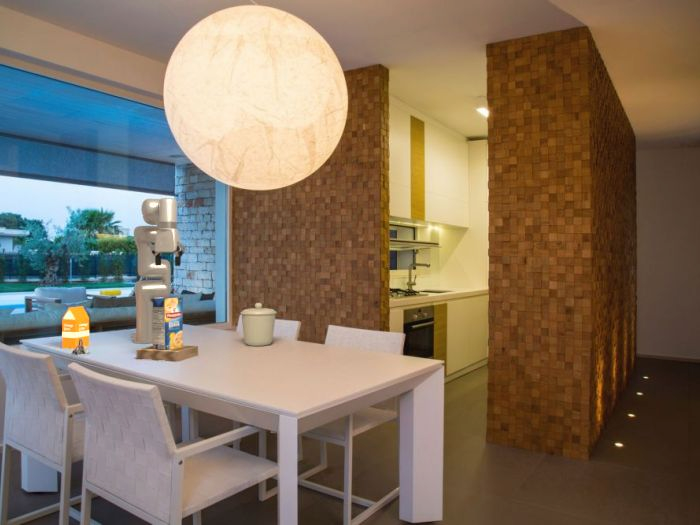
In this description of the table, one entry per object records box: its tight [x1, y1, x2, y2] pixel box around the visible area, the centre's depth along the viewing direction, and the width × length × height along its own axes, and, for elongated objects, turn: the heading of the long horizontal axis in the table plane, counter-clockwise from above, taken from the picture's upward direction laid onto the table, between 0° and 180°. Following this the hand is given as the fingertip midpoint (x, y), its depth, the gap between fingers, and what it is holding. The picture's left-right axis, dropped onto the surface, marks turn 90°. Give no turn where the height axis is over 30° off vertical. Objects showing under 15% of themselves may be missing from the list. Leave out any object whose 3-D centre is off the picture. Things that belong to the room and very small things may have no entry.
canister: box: [240, 302, 277, 347], centre depth 273 cm, size 18×18×21 cm
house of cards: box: [71, 338, 91, 356], centre depth 241 cm, size 9×9×8 cm
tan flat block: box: [136, 345, 199, 362], centre depth 238 cm, size 20×16×4 cm
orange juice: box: [61, 305, 90, 350], centre depth 260 cm, size 8×9×20 cm
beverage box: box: [152, 296, 184, 350], centre depth 238 cm, size 7×11×22 cm, turn 155°
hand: (167, 265), depth 238 cm, fingers open, 9 cm apart
